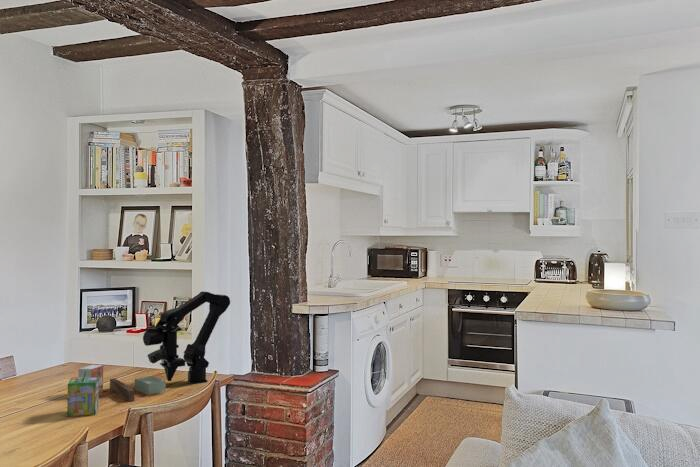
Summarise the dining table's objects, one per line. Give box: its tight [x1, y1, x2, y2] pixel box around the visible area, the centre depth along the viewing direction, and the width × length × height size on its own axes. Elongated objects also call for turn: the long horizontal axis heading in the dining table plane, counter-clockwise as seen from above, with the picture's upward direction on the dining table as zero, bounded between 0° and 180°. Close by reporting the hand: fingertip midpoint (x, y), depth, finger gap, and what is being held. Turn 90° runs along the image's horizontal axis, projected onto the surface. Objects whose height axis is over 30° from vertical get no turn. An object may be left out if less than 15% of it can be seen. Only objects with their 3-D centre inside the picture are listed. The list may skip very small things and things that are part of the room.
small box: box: [78, 364, 104, 394], centre depth 230 cm, size 8×6×10 cm
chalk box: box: [66, 369, 100, 418], centre depth 205 cm, size 9×9×15 cm
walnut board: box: [109, 377, 136, 403], centre depth 229 cm, size 2×24×4 cm, turn 38°
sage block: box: [134, 375, 166, 396], centre depth 235 cm, size 7×12×4 cm, turn 45°
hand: (169, 380), depth 240 cm, fingers closed
